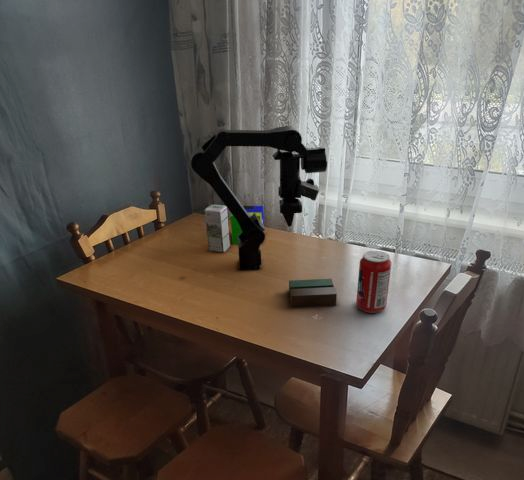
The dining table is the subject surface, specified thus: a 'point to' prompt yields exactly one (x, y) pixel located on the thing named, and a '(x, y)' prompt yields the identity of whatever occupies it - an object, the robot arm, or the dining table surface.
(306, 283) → the green bar
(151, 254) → the dining table surface
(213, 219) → the syrup box
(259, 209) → the puzzle toy
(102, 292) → the dining table surface
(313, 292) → the walnut bar
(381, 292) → the soda can
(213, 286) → the dining table surface
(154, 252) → the dining table surface
